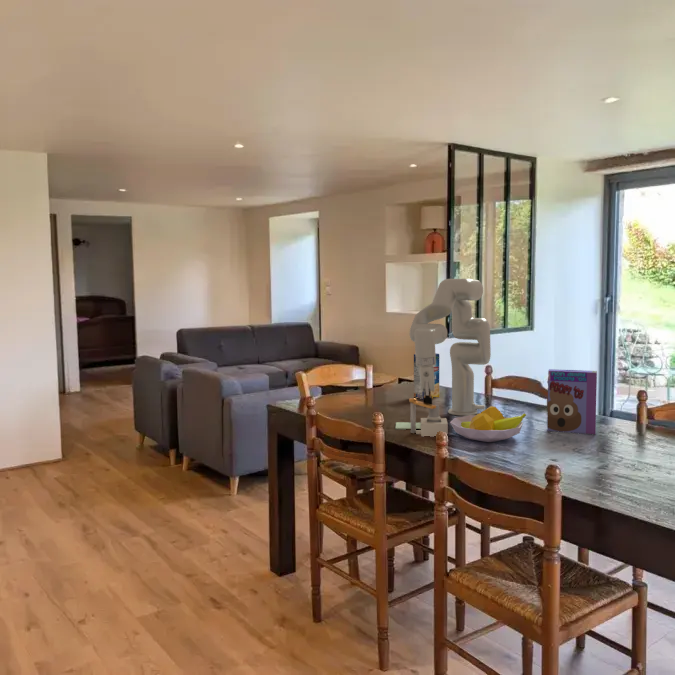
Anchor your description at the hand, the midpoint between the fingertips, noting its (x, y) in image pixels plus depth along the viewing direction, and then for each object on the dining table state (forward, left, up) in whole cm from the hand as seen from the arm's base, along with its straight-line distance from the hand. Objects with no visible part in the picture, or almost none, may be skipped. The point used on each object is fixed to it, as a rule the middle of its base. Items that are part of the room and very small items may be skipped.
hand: (428, 406), depth 249 cm
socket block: (0, -3, -11) cm, 11 cm away
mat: (+8, -14, -11) cm, 19 cm away
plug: (-2, -3, -11) cm, 12 cm away
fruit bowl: (-22, +3, -11) cm, 25 cm away
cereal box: (-55, -9, -11) cm, 57 cm away
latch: (+2, +2, +1) cm, 3 cm away
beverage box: (-1, -78, -11) cm, 78 cm away
